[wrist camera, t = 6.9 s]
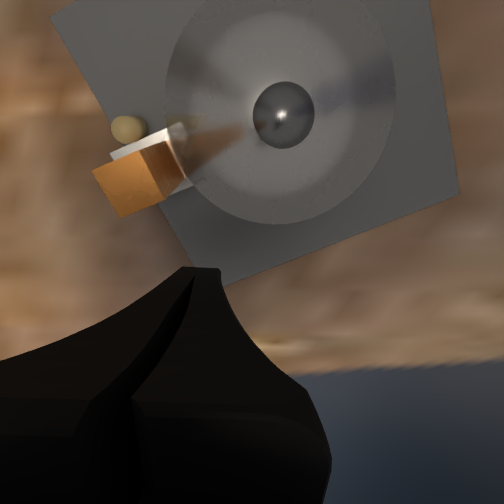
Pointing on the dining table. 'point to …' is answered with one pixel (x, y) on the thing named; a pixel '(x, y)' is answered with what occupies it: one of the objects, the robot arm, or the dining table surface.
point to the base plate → (205, 212)
